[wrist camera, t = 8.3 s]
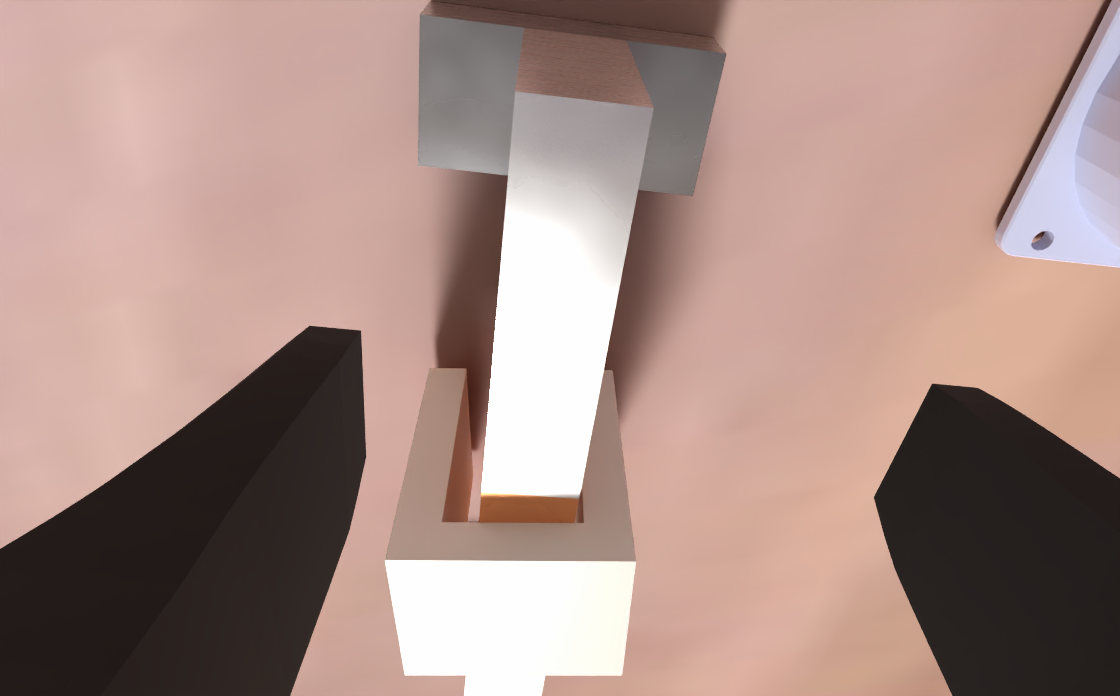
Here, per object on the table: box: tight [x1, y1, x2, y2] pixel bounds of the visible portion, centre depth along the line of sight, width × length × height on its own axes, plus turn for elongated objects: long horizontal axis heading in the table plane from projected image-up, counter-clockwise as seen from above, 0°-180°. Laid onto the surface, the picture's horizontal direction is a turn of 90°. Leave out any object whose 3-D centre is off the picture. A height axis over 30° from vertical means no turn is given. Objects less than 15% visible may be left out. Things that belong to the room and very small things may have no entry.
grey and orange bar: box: [418, 1, 726, 696], centre depth 18 cm, size 6×20×6 cm, turn 173°
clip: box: [385, 368, 636, 676], centre depth 18 cm, size 5×4×6 cm
